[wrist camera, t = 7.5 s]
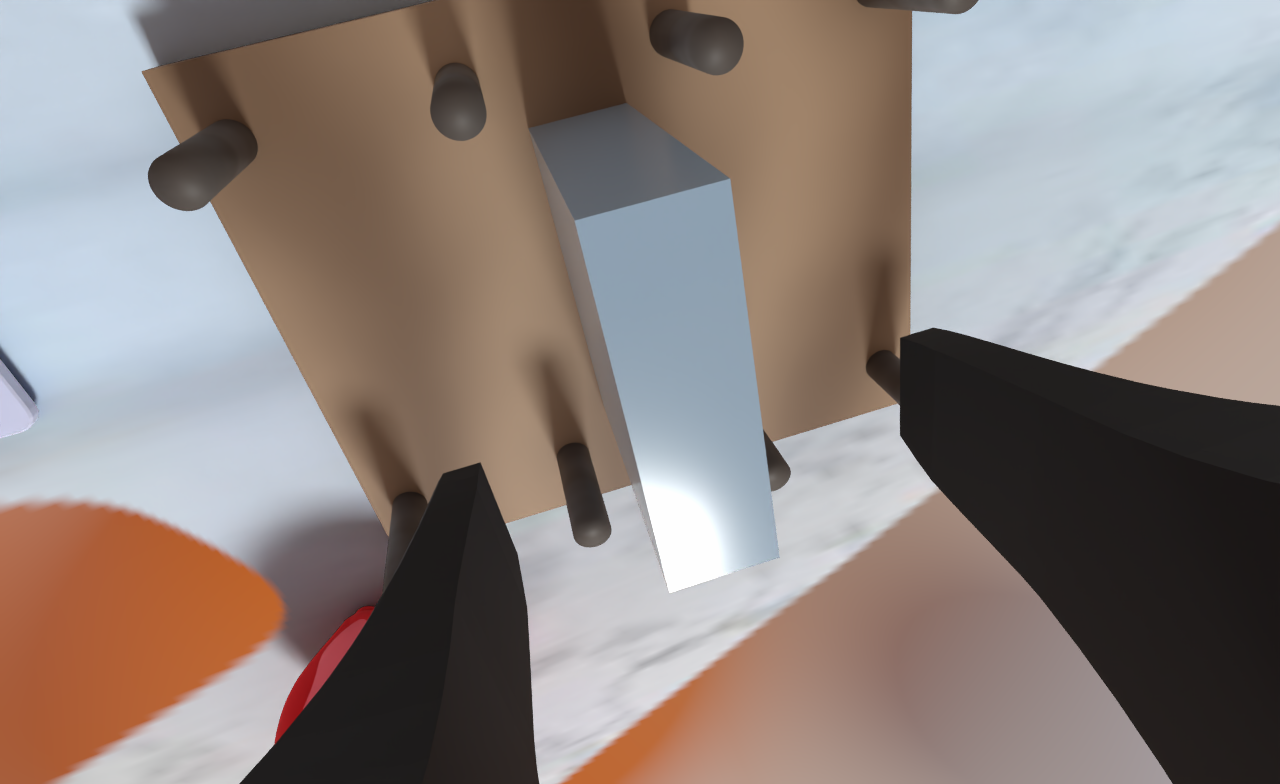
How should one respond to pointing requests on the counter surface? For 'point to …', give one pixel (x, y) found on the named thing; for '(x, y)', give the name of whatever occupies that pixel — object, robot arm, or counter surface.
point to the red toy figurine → (321, 668)
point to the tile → (665, 333)
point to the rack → (546, 219)
